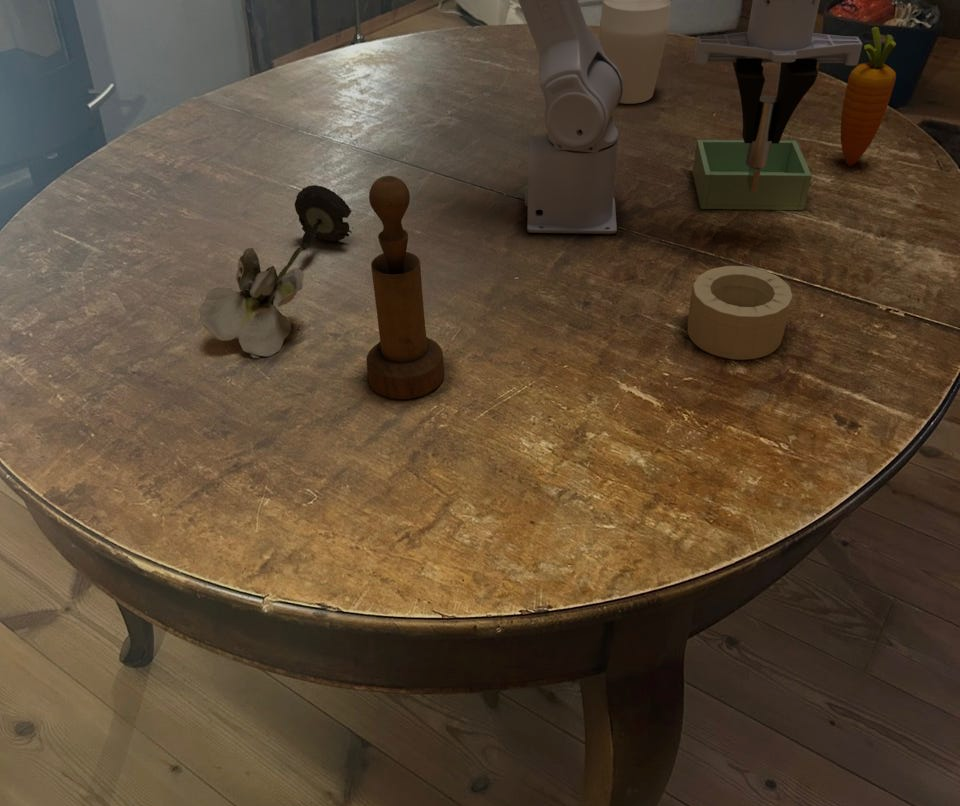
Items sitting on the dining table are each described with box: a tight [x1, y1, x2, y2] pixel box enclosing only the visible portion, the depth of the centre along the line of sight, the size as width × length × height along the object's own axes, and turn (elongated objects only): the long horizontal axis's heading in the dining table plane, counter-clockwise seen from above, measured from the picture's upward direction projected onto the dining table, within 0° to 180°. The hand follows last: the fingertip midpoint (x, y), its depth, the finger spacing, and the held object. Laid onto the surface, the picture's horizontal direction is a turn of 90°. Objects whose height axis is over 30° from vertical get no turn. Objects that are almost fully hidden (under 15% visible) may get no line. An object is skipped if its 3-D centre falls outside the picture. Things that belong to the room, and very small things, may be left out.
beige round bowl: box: [686, 265, 794, 361], centre depth 83 cm, size 8×8×4 cm
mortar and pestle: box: [366, 175, 445, 400], centre depth 74 cm, size 7×6×18 cm
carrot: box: [840, 26, 897, 167], centre depth 104 cm, size 5×5×15 cm
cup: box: [599, 0, 672, 105], centre depth 123 cm, size 9×9×12 cm
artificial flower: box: [198, 184, 354, 359], centre depth 88 cm, size 9×22×10 cm, turn 160°
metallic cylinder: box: [746, 94, 779, 193], centre depth 91 cm, size 2×3×9 cm
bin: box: [692, 139, 813, 211], centre depth 104 cm, size 11×9×4 cm
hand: (760, 139), depth 90 cm, fingers closed on metallic cylinder, 2 cm apart
